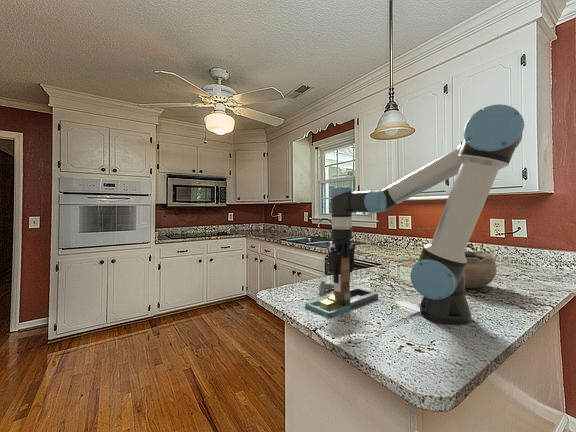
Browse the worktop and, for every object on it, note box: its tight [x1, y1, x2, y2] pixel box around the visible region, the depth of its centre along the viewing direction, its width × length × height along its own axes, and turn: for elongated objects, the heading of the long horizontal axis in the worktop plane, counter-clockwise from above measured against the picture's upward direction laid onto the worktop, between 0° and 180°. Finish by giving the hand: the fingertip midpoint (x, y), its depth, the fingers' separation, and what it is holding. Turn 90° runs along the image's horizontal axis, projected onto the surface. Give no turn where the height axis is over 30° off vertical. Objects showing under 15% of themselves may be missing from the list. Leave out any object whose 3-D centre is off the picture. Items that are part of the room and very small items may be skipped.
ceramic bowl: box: [464, 250, 498, 289], centre depth 125 cm, size 22×22×15 cm
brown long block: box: [333, 256, 351, 305], centre depth 102 cm, size 6×4×17 cm, turn 37°
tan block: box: [318, 299, 336, 312], centre depth 97 cm, size 4×4×3 cm
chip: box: [328, 295, 343, 309], centre depth 99 cm, size 4×4×3 cm
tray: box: [305, 296, 351, 318], centre depth 97 cm, size 12×10×2 cm
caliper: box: [318, 280, 334, 295], centre depth 120 cm, size 20×1×6 cm, turn 131°
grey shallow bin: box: [326, 286, 379, 310], centre depth 106 cm, size 12×17×3 cm
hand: (342, 289), depth 102 cm, fingers closed on brown long block, 4 cm apart
